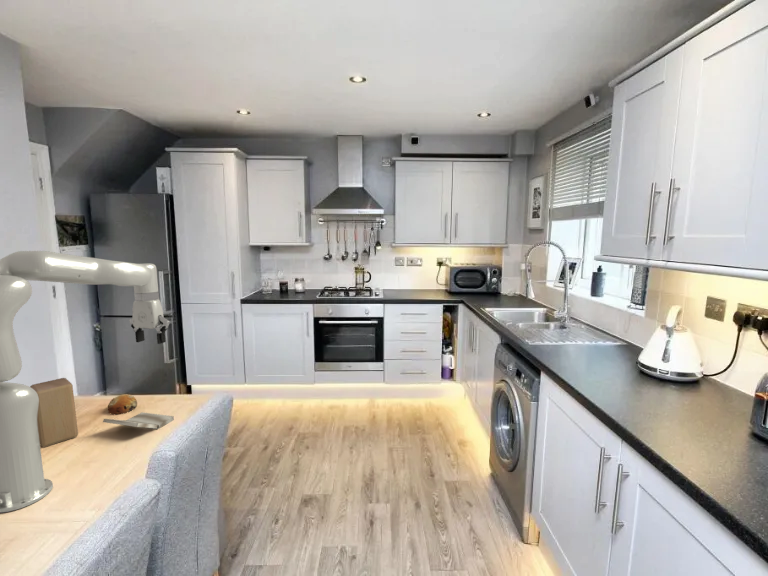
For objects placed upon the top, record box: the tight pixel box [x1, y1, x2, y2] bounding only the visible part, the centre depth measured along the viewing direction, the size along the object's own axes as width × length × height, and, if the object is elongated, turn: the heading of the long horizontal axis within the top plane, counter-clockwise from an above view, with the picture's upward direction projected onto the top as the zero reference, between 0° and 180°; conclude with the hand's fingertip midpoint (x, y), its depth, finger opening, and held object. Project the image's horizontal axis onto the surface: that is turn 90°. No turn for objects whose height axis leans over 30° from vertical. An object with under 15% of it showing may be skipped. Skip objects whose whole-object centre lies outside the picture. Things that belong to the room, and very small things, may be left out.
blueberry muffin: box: [107, 393, 138, 415], centre depth 156 cm, size 10×10×8 cm
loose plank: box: [102, 418, 158, 429], centre depth 137 cm, size 9×15×1 cm, turn 75°
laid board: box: [126, 411, 175, 430], centre depth 145 cm, size 8×15×2 cm, turn 76°
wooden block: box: [29, 377, 79, 448], centre depth 132 cm, size 10×10×20 cm
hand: (151, 342), depth 142 cm, fingers open, 9 cm apart
